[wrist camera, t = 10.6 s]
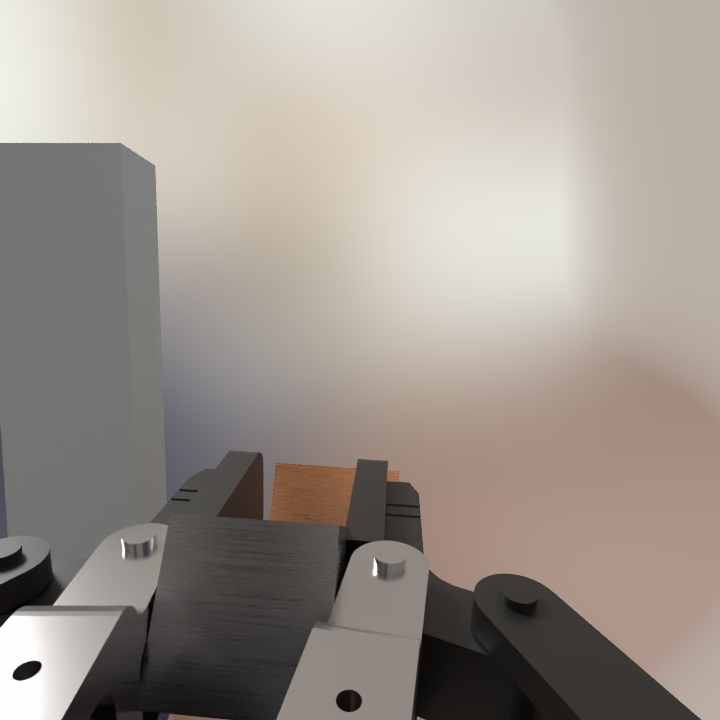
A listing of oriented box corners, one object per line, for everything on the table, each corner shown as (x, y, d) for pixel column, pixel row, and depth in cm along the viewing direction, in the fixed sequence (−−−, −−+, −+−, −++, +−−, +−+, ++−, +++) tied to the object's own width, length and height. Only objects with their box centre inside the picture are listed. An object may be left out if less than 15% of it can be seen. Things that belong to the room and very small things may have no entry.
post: (2, 944, 21) (-57, 138, 18) (71, 824, 26) (34, 174, 23) (171, 949, 21) (142, 139, 18) (208, 827, 26) (191, 174, 23)
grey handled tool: (51, 702, 7) (128, 361, 8) (275, 589, 21) (288, 471, 22) (412, 737, 6) (424, 377, 8) (391, 599, 20) (397, 479, 22)
